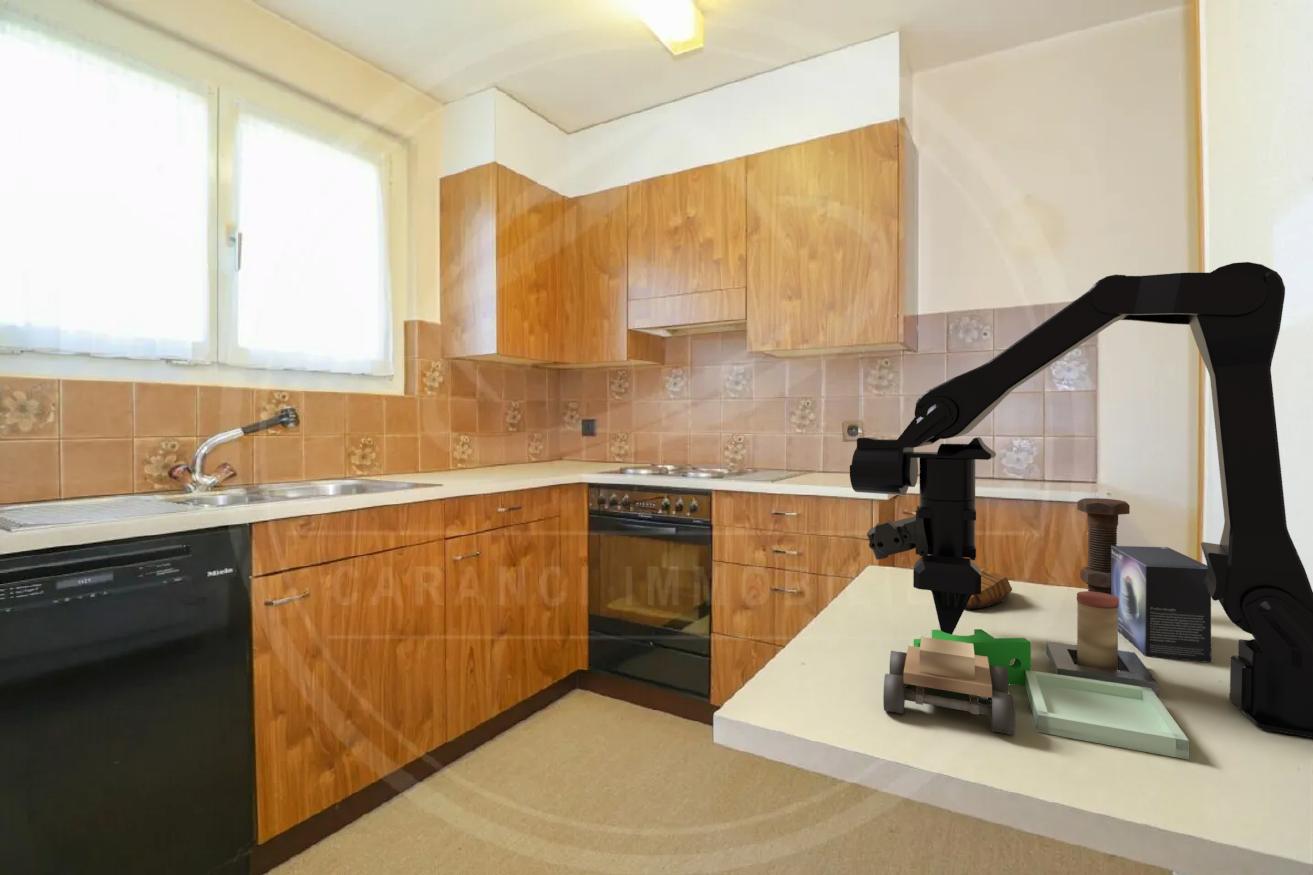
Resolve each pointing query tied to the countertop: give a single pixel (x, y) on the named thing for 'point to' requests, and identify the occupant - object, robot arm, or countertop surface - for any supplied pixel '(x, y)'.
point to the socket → (1128, 665)
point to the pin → (1097, 630)
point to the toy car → (950, 681)
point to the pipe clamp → (996, 651)
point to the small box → (1162, 602)
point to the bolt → (1101, 540)
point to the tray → (1104, 713)
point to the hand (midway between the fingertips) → (946, 633)
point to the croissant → (990, 590)
